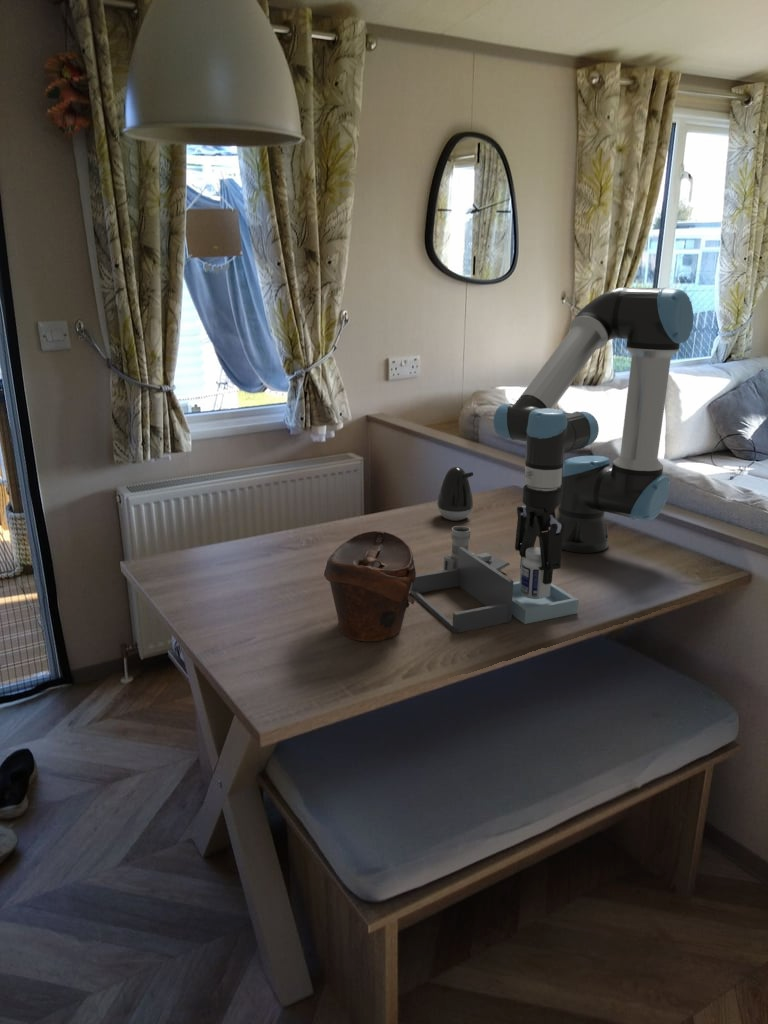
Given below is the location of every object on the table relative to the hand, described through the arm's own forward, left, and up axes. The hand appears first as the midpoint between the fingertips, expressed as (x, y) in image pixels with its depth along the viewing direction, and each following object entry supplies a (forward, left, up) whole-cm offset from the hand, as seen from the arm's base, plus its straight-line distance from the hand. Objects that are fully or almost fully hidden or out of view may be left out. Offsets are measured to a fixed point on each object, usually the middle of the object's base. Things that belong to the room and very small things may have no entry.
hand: (534, 590), depth 159 cm
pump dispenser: (-59, +13, -4) cm, 61 cm away
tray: (0, 0, -4) cm, 4 cm away
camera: (-21, -3, -4) cm, 22 cm away
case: (-4, -36, -4) cm, 36 cm away
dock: (-6, -15, -4) cm, 17 cm away
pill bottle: (0, 0, -1) cm, 1 cm away
